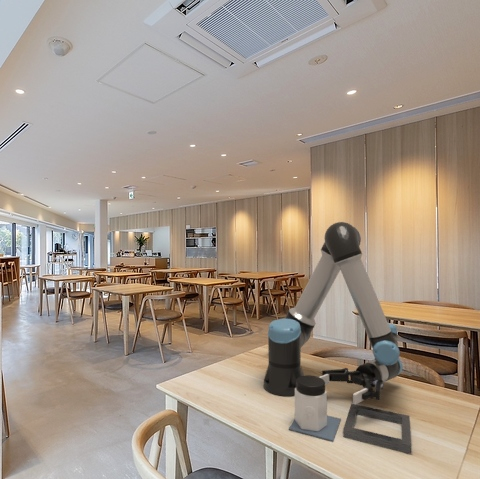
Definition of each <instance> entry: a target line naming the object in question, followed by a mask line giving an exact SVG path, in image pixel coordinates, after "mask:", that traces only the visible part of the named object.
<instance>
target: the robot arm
mask: <svg viewBox="0 0 480 479" xmlns="http://www.w3.org/2000/svg"><path fill="white" fill-rule="evenodd" d="M361 241H362V237H361V234H360V232H359V230H358V229H357V228H356V227H354V226H353V225H352V224H350V223H348V222H344V221H338V222H334V223H333V224H331V225H330V226H329V227H328V228H327V229H326V231H325V234H324V242H323V244H322V247H321V248H320V252H321V256H320V259H319V261H318V263H317V264H316V267H315V268H314V270H313V272H312V274H311V275H310V278H309V280H308V281H307V284H306V286H305V287H304V290H303V291H302V293H301V295H300V297H299V299H298V301H297V302H296V305H295V306H294V307H292V308H289V309H288V311H287V313H286V315H285V317H284V318H279V319H274V320H272V321H271V322H270V323H269V325H268V330H267V336H268V344H267V345H268V346H267V347H268V366H267V368H266V372H265V375H264V377H263V388H264V389H265V391H267V392H269V393H271V394H272V395H276V396H282V397H291V396H294V397H295V388H296V379H297V378H298V377H300V376H305V375H304V372H303V369H302V366H301V365H302V362H301V361H302V360H301V356H302V355H301V354H302V353H301V352H302V351H301V349H302V347H303V346H304V345H305V344H306V343H307V342H308V341H309V339H310V337H311V335H312V332H313V330H314V328H315V326H316V324H317V323H316V320H315V317H316V316H317V313H318V312H319V310H320V308H321V306H322V304H323V302H324V301H325V299H326V298H327V295H328V293H329V292H330V290H331V288H332V286H333V284H334V283H335V281H336V279H337V277H338V275H339V273H340V272H341V274H342V277H343V279H344V281H345V284H346V286H347V288H348V291H349V294H350V296H351V298H352V301H353V303H354V306H355V308H356V312H357V313H358V316H359V318H360V320H361V323H362V325H363V328H364V330H365V333H366V335H367V337H368V341H369V343H370V345H371V348H372V354H373V357H374V359H372V360H370V361H368V362H365V363H363V364H361V365H358V366H357V367H356V369H355V370H354V371H350V370H349V369H348V368H347V367H344V368H340V369H339V368H338V369H337V368H336V369H326V370H325V369H324V370H323V369H322V371H321V375H320V376H318V377H319V378H321V379H323V380H324V381H325V385H327V384H330V382H337V383H339V382H341V383H342V382H345V383H346V384H355V385H357V386H361V387H363V388H362V389H361V390H359V391H356V392H354V393H352V404H355V405H359V403H361V402H364V401H367V400H369V399H375V400H376V401H381V392H382V391H383V389H384V383H385V382H388V381H389V380H392V379H395V378H396V377H397V376H398V375H400V374H401V373H402V371H403V370H404V369H403V367H404V366H403V362H402V361H401V358H400V354H401V351H400V348H399V343H398V329H397V328H398V327H397V325H395V324H393V323H390V322H388V320H387V317H386V315H385V313H384V310H383V308H382V306H381V304H380V301H379V297H378V296H377V294H376V292H375V289H374V287H373V284H372V281H371V280H370V277H369V275H368V272H367V270H366V268H365V264H364V263H363V259H362V256H363V252H362V250H361V248H360V246H361ZM374 388H375V390H374Z"/></svg>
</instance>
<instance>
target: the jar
mask: <svg viewBox="0 0 480 479" xmlns="http://www.w3.org/2000/svg"><path fill="white" fill-rule="evenodd" d="M319 377H320V376H315V375H309V374H308V375H307V374H306V375H304V376H300V377H298V378H297V379H296V388H295V395H294V419H295V421H296V422H297V424H298V425H299V426H300V428H301V429H304V430H311V431H317V432H318V431H320V430H321V429H322V428H324V427H325V426H327V415H328V403H327V402H328V392H327V391H326V384H325V381H324V380H323V379H321V378H319Z"/></svg>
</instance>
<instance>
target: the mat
mask: <svg viewBox="0 0 480 479" xmlns="http://www.w3.org/2000/svg"><path fill="white" fill-rule="evenodd" d="M341 421H342V419H341V417H335V416H331V415H328V414H327V426H325V427H324V428H322V429H321V430H320V431H318V432H317V431H311V430H304V429H301V428H300V426H299V425H298V424H297V422H296V421H295V418H294V419H293V421H292V422H291V424H290V426H289V427H288V431H291V432H295V433H298V434H301V435H306V436H308V437H309V436H310V437H313V438H318V439H321V440H325V441H328V442H332V443H334V441H335V438H336V435H337V431H338V429H339V427H340V423H341Z"/></svg>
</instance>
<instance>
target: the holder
mask: <svg viewBox="0 0 480 479" xmlns="http://www.w3.org/2000/svg"><path fill="white" fill-rule="evenodd" d="M358 415H359V416H363V417H367V418H371V419H376V420H379V421H380V420H381V421H385V422H390V423H394V424H398V425H401V438H398V437H397V438H396V437H394V436H389V435H385V434H380V433H378V432H373V431H368V430H366V429H365V430H364V429H360V428H357V427H356V428H355V425H356V423H357V422H356V421H357V417H358ZM410 419H411V418H410V415H409V414H408V415H407V414H403V413H399V412H394V411H390V410H389V411H388V410H384V409H380V408H379V409H378V408H375V407H370V406H365V405H361V404H356V405H355V404H353V403H351V404H350V406H349V410H348V413H347V416H346V419H345V422H344V425H343V430H342V431H343V432H342V436H343V438H346V439H348V440H349V439H350V440H353V441H358V442H362V443H366V444H370V445H374V446H379V447H380V448H386V449H390V450H391V451H392V450H393V451H397V452H400V453H405V454H409V455H412V436H411V421H410Z"/></svg>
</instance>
